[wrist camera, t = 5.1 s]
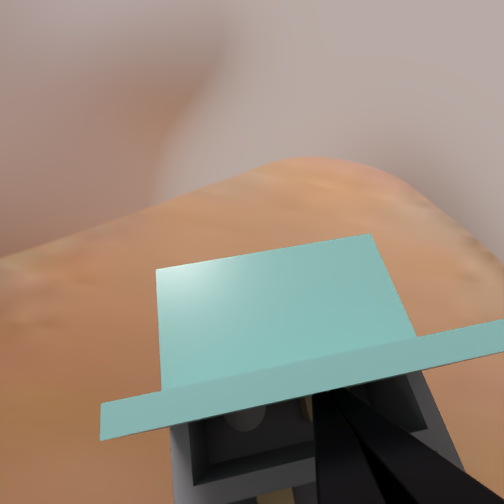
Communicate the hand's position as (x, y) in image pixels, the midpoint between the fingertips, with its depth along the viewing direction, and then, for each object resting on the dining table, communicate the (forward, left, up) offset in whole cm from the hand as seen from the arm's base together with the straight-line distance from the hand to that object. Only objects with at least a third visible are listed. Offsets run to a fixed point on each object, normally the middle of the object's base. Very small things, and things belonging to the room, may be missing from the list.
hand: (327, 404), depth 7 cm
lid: (+2, -2, -3) cm, 5 cm away
